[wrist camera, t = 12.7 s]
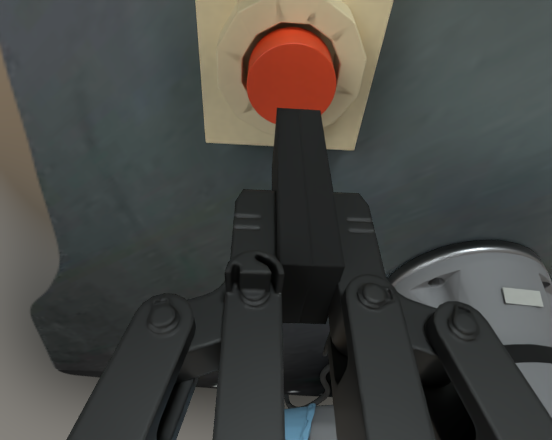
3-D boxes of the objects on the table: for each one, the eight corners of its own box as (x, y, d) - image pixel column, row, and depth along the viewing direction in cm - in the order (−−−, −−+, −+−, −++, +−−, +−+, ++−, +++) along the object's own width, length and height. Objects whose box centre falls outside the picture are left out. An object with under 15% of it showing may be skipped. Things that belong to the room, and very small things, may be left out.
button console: (349, 130, 25) (358, 169, 23) (209, 122, 25) (202, 161, 22) (400, -81, 17) (424, -59, 15) (195, -99, 17) (180, -80, 14)
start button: (324, 109, 20) (328, 129, 19) (247, 105, 20) (246, 124, 19) (339, 29, 17) (344, 46, 16) (248, 23, 17) (247, 39, 16)
